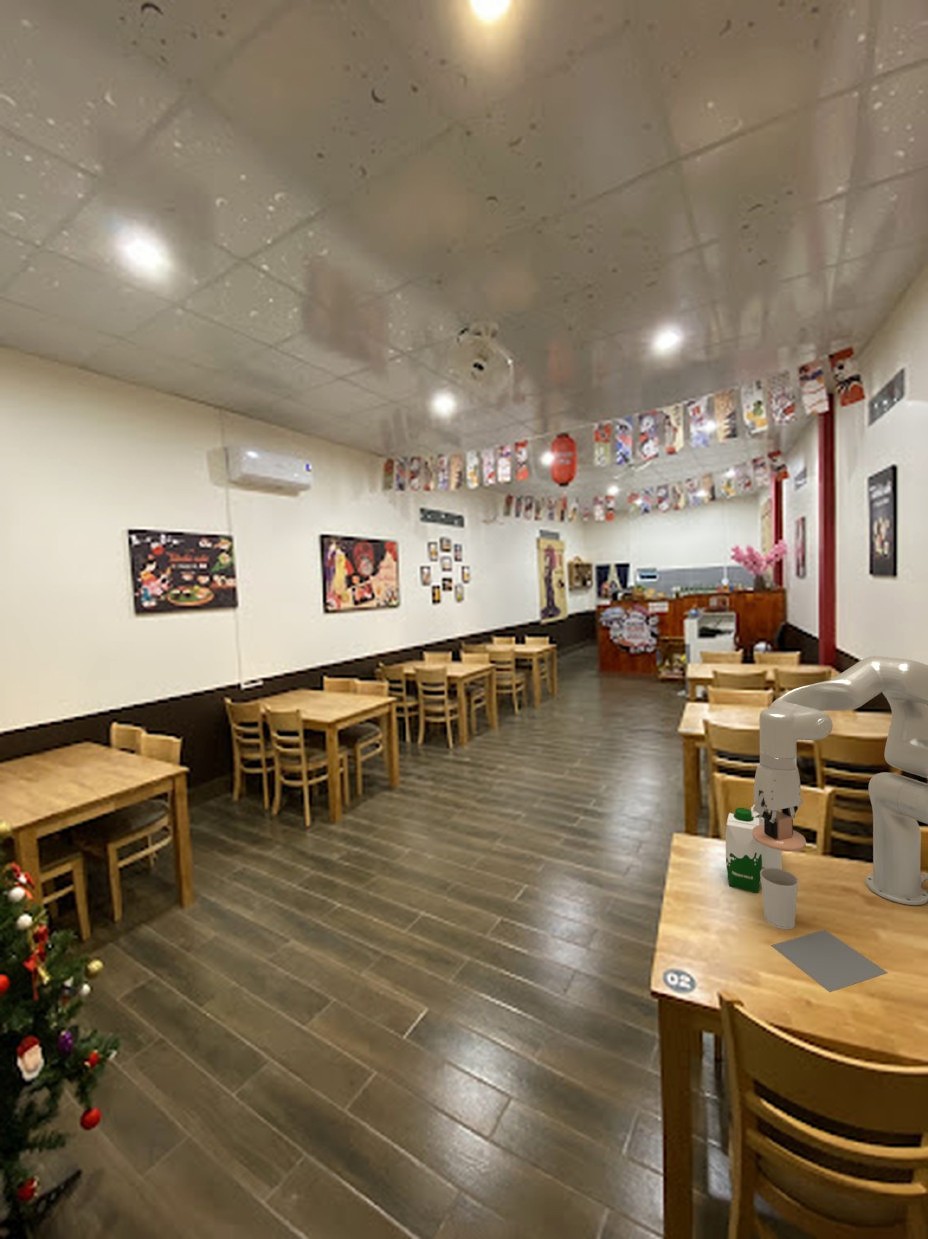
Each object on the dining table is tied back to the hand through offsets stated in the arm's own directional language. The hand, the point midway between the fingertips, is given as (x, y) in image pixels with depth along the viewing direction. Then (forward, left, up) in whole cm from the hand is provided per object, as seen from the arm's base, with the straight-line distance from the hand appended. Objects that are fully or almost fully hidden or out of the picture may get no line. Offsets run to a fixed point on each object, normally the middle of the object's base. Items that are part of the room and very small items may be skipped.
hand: (778, 833), depth 122 cm
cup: (0, 0, -23) cm, 23 cm away
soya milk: (-5, -16, -23) cm, 29 cm away
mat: (+1, +13, -23) cm, 26 cm away
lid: (0, 0, -1) cm, 1 cm away
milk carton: (-19, -22, -23) cm, 37 cm away
